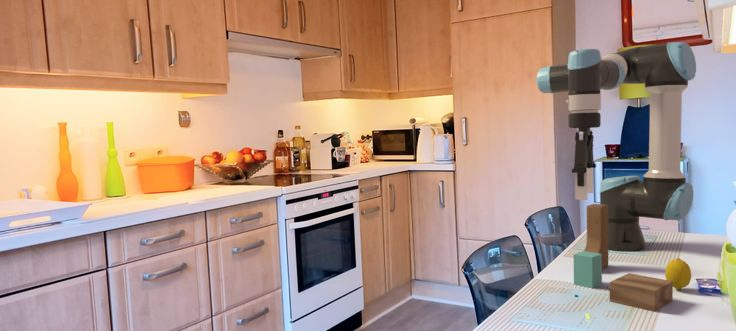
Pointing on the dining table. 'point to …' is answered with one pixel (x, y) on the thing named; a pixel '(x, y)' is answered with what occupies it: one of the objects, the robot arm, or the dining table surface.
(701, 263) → the dining table surface
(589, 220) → the wooden block
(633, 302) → the walnut base block
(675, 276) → the lemon
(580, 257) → the teal block
